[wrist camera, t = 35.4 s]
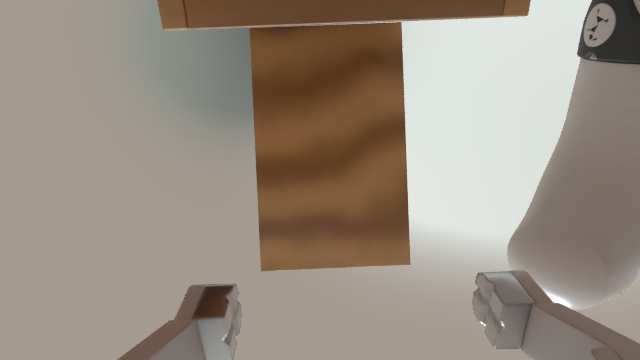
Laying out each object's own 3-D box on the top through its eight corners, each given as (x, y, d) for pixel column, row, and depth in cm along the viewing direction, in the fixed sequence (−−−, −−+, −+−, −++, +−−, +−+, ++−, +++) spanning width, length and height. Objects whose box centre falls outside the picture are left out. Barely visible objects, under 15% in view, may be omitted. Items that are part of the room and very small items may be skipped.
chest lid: (261, 271, 31) (268, 257, 36) (410, 264, 31) (397, 251, 36) (249, 28, 31) (259, 48, 36) (401, 22, 31) (389, 42, 36)
